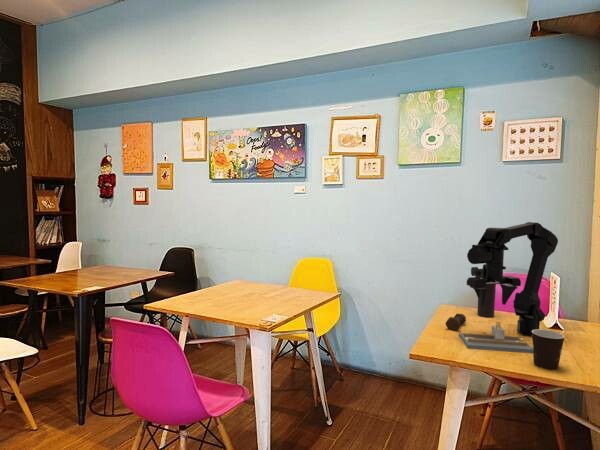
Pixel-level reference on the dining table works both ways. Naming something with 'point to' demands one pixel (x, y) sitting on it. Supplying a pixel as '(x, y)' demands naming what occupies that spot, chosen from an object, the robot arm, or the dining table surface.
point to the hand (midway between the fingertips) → (492, 305)
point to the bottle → (488, 302)
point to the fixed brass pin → (521, 339)
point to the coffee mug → (547, 348)
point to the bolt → (455, 322)
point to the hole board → (494, 343)
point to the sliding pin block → (497, 332)
